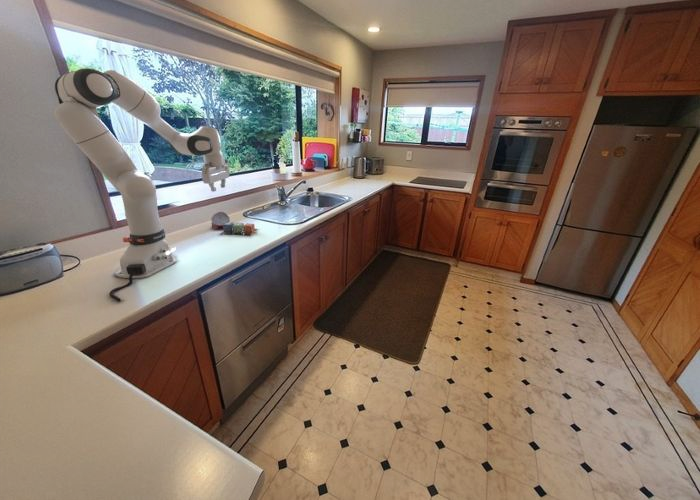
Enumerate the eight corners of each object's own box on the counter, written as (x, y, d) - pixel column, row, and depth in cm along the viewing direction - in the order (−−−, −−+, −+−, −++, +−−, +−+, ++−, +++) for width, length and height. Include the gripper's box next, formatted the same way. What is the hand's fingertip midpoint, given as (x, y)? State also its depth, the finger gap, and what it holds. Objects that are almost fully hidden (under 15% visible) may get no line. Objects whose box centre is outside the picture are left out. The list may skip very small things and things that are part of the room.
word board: (249, 237, 153) (249, 236, 152) (219, 235, 154) (219, 234, 154) (258, 229, 164) (257, 228, 163) (229, 228, 165) (229, 227, 164)
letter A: (241, 233, 156) (240, 225, 155) (233, 232, 157) (232, 225, 155) (244, 230, 160) (243, 223, 159) (237, 230, 161) (236, 222, 159)
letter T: (231, 232, 157) (230, 225, 155) (223, 232, 157) (222, 224, 155) (234, 229, 161) (233, 222, 159) (227, 229, 161) (226, 222, 159)
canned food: (230, 232, 171) (236, 219, 167) (221, 236, 161) (227, 222, 158) (214, 222, 170) (220, 209, 167) (204, 226, 161) (210, 211, 157)
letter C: (252, 233, 156) (251, 226, 154) (244, 233, 156) (243, 225, 154) (255, 231, 160) (254, 223, 158) (247, 230, 160) (246, 223, 158)
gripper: (208, 164, 130) (213, 194, 136) (229, 159, 149) (233, 185, 154) (195, 163, 130) (201, 193, 136) (218, 159, 149) (222, 185, 155)
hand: (218, 189), depth 145 cm, fingers open, 8 cm apart
